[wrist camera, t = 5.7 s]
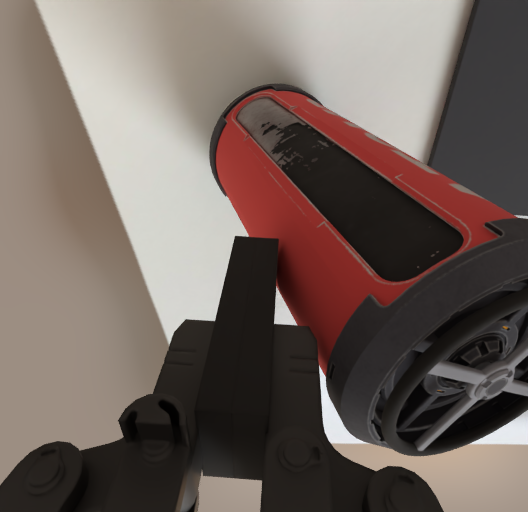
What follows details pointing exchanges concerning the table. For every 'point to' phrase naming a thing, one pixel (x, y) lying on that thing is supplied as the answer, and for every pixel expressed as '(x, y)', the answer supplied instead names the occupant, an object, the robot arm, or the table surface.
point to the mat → (489, 108)
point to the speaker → (383, 271)
